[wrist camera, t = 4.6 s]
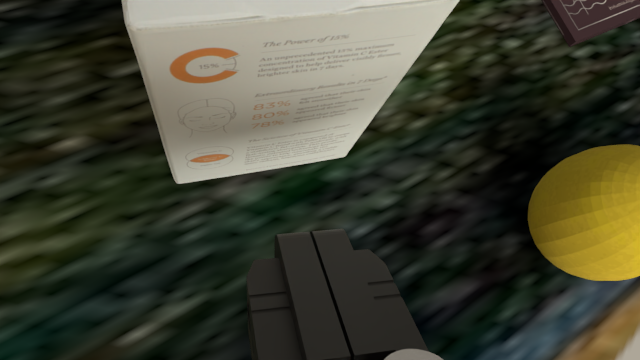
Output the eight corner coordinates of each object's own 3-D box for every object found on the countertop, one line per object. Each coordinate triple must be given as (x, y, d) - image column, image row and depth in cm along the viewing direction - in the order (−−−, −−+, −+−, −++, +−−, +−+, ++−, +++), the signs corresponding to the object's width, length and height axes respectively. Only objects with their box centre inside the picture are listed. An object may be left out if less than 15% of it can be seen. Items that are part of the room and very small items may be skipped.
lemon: (474, 216, 26) (582, 170, 18) (550, 155, 28) (677, 90, 20) (547, 311, 25) (689, 304, 18) (620, 243, 27) (778, 210, 19)
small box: (318, 39, 27) (406, -207, 15) (347, 159, 26) (471, 0, 13) (151, 56, 25) (89, -207, 13) (172, 187, 24) (125, 33, 11)
